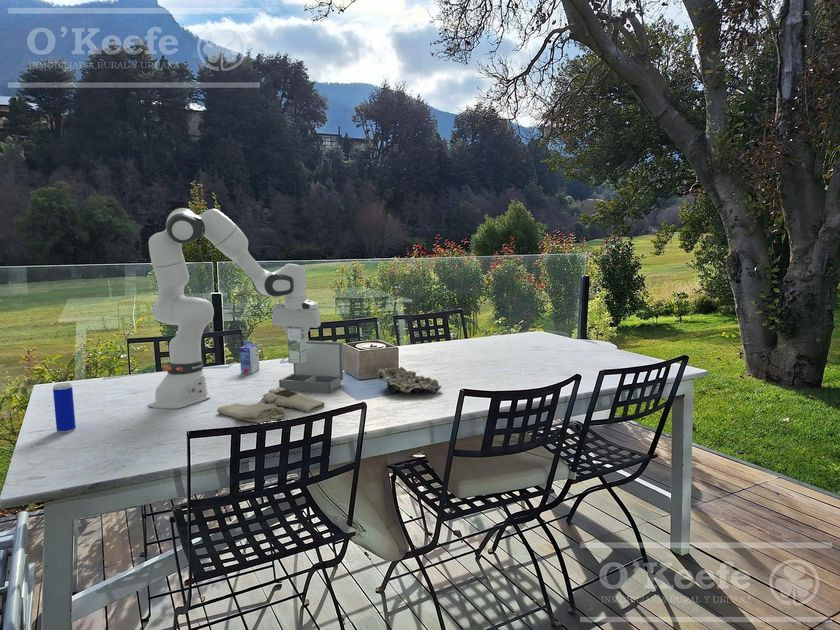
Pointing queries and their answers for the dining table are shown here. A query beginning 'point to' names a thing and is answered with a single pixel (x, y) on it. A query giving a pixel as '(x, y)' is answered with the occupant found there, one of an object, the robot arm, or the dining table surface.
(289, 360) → the syrup box
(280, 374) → the dining table surface
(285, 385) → the equipment case
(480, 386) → the dining table surface
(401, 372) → the decorative rock
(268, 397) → the pair of gloves
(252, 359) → the ink cartridge box
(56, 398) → the beverage can
